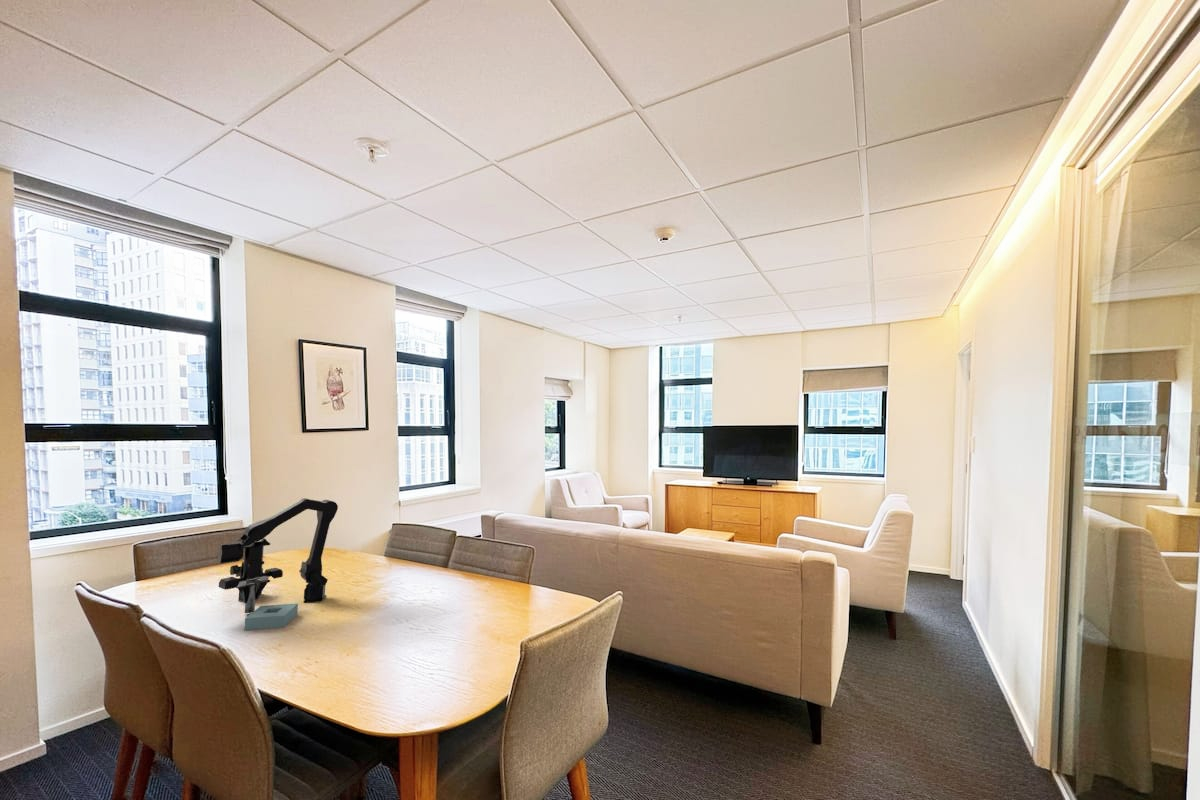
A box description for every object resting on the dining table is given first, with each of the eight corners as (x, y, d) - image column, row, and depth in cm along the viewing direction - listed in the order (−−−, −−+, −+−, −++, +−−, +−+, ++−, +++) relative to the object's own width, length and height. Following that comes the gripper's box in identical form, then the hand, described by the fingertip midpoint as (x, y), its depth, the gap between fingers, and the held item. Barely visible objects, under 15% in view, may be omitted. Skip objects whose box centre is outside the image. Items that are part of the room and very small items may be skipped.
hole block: (297, 614, 174) (298, 603, 174) (284, 627, 162) (285, 615, 163) (260, 617, 171) (261, 605, 171) (244, 630, 159) (245, 618, 160)
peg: (256, 609, 175) (258, 582, 176) (252, 612, 172) (254, 584, 173) (246, 610, 175) (248, 583, 175) (243, 613, 172) (245, 585, 172)
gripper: (270, 550, 187) (267, 591, 186) (213, 561, 171) (210, 605, 170) (284, 554, 181) (282, 596, 180) (227, 565, 165) (224, 611, 164)
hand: (250, 601), depth 174 cm, fingers closed on peg, 3 cm apart
